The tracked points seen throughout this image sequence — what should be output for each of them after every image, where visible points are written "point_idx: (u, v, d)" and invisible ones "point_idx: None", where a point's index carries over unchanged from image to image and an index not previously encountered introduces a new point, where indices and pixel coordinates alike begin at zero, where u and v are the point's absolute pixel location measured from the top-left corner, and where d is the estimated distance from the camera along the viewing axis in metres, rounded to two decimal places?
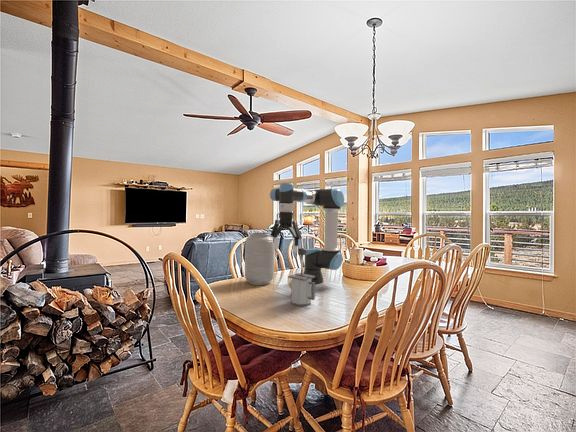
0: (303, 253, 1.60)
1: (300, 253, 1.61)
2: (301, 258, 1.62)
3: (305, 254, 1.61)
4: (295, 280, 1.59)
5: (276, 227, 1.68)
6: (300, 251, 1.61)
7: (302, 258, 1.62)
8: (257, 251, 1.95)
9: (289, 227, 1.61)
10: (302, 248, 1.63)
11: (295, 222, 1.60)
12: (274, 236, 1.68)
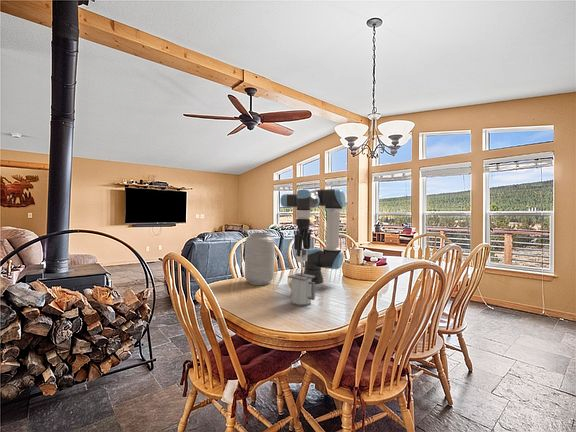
0: (303, 253, 1.60)
1: None
2: None
3: (305, 254, 1.61)
4: (295, 280, 1.59)
5: (307, 237, 1.66)
6: None
7: (302, 258, 1.62)
8: (257, 251, 1.95)
9: None
10: (302, 248, 1.63)
11: (295, 232, 1.57)
12: None
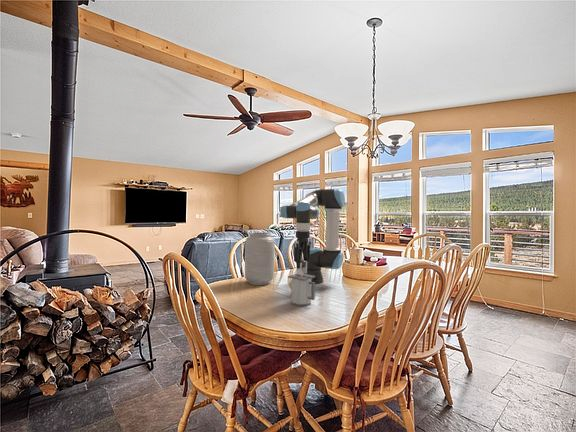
0: (303, 265, 1.61)
1: None
2: None
3: (305, 266, 1.61)
4: (295, 280, 1.59)
5: (307, 249, 1.66)
6: None
7: (302, 270, 1.62)
8: (257, 251, 1.95)
9: None
10: (302, 260, 1.64)
11: (295, 245, 1.57)
12: (303, 259, 1.66)
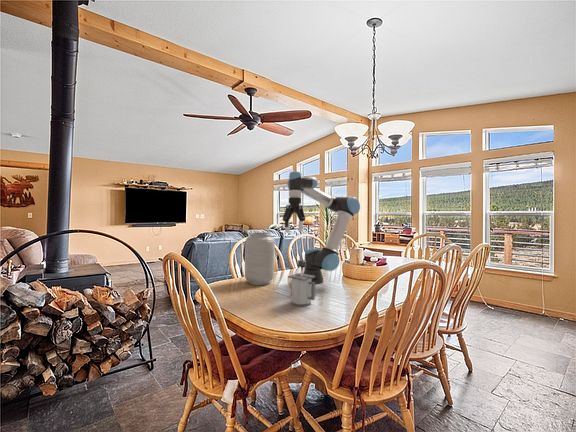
0: (303, 265, 1.61)
1: (300, 265, 1.61)
2: (301, 270, 1.62)
3: (305, 266, 1.61)
4: (295, 280, 1.59)
5: (300, 212, 1.89)
6: (300, 263, 1.61)
7: (302, 270, 1.62)
8: (257, 251, 1.95)
9: None
10: (302, 260, 1.64)
11: (287, 206, 1.79)
12: None
